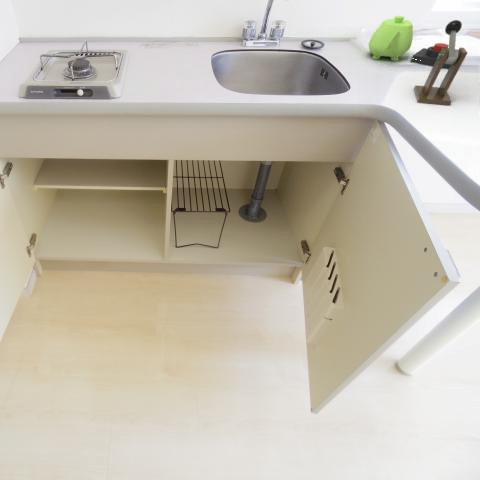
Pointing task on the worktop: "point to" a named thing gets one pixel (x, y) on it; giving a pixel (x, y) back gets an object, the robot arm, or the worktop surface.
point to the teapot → (392, 38)
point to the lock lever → (452, 40)
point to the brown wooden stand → (440, 93)
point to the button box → (428, 57)
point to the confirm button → (439, 46)
